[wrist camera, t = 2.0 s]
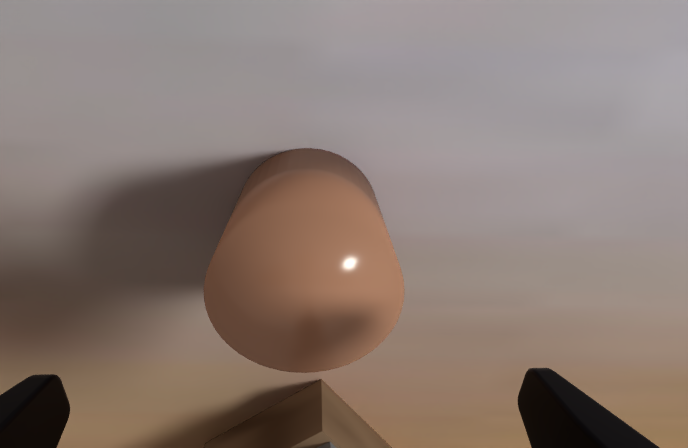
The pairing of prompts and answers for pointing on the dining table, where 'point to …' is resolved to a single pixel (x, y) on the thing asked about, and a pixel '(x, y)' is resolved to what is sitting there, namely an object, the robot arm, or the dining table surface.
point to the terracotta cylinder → (305, 266)
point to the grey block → (327, 445)
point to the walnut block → (303, 424)
